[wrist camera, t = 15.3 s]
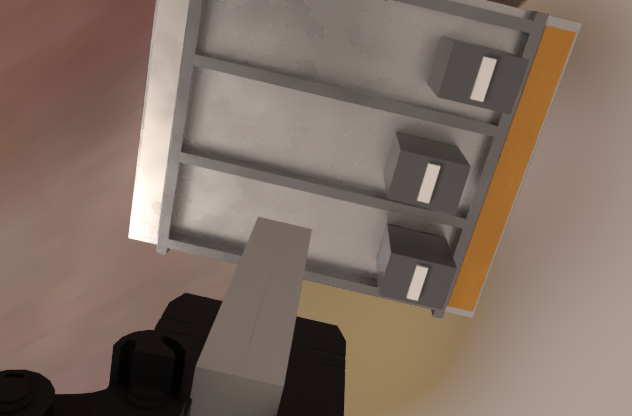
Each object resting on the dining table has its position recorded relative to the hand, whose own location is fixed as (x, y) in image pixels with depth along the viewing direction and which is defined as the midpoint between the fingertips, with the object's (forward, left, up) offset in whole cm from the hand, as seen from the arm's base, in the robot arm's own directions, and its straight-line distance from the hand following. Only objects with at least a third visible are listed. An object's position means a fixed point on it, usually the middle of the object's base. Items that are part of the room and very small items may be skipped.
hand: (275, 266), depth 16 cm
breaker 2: (-5, +7, -18) cm, 20 cm away
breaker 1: (+6, +7, -18) cm, 20 cm away
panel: (0, +1, -19) cm, 19 cm away
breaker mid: (0, +6, -18) cm, 19 cm away
